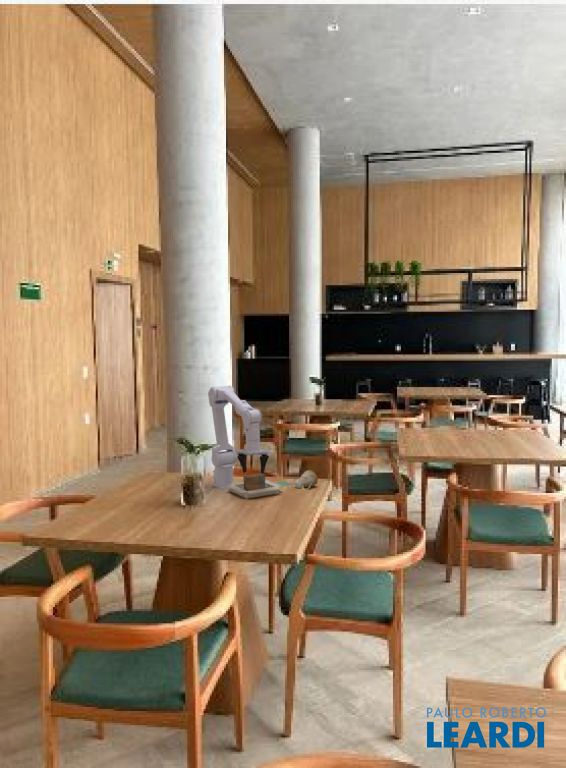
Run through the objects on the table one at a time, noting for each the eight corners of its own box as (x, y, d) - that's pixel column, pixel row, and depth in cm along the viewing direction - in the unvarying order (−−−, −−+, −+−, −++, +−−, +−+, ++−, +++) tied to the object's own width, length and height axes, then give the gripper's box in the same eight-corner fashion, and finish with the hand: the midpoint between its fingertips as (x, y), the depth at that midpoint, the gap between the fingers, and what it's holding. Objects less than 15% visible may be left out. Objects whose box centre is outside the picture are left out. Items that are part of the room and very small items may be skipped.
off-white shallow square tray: (223, 491, 256) (223, 484, 256) (263, 485, 265) (263, 478, 265) (244, 501, 237) (244, 494, 237) (286, 494, 247) (286, 487, 246)
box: (243, 492, 251) (243, 475, 251) (260, 489, 255) (260, 473, 255) (248, 494, 247) (247, 477, 247) (265, 491, 251) (264, 474, 251)
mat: (268, 484, 266) (268, 483, 266) (284, 482, 270) (284, 481, 270) (277, 488, 259) (277, 487, 259) (293, 485, 263) (293, 484, 263)
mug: (289, 488, 258) (295, 466, 262) (308, 496, 262) (313, 474, 266) (298, 487, 252) (304, 465, 255) (317, 495, 256) (323, 472, 259)
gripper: (232, 440, 242) (233, 473, 243) (266, 441, 238) (267, 475, 239) (238, 437, 249) (239, 470, 250) (272, 438, 245) (273, 471, 246)
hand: (253, 472), depth 245 cm, fingers open, 7 cm apart
